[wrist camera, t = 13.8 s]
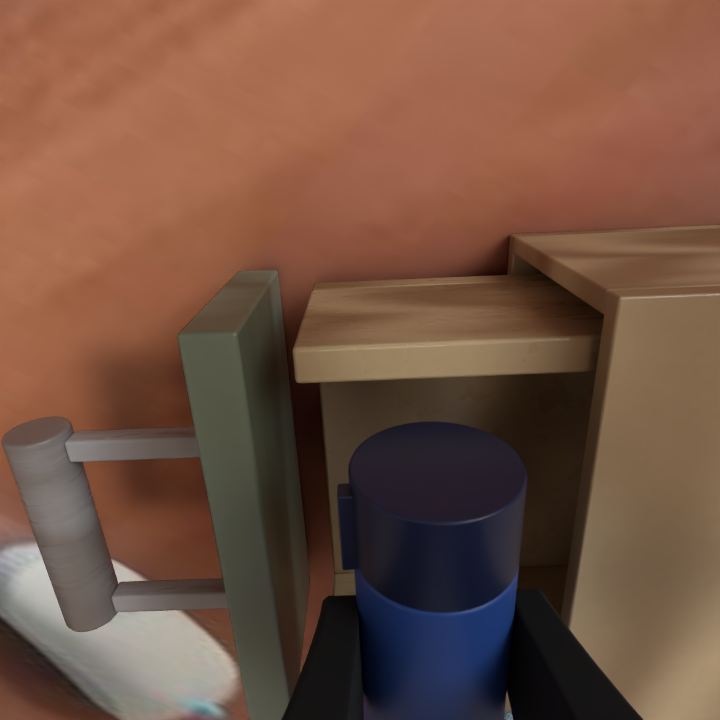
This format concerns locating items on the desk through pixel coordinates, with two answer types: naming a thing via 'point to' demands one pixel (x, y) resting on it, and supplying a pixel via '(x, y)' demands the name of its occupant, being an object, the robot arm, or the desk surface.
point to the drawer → (341, 438)
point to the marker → (434, 568)
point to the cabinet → (647, 461)
